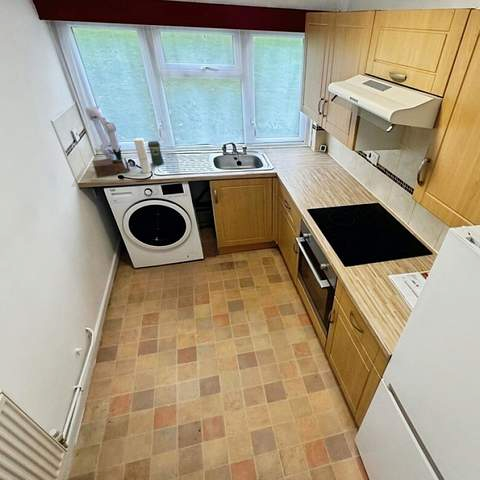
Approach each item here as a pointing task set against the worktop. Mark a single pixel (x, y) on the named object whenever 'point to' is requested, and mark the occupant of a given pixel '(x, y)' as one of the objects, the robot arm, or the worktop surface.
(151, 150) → the coffee jar
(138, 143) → the cylindrical container
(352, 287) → the worktop surface
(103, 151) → the robot arm
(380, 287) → the worktop surface
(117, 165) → the drawer
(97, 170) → the cabinet
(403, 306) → the worktop surface
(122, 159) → the scoop
